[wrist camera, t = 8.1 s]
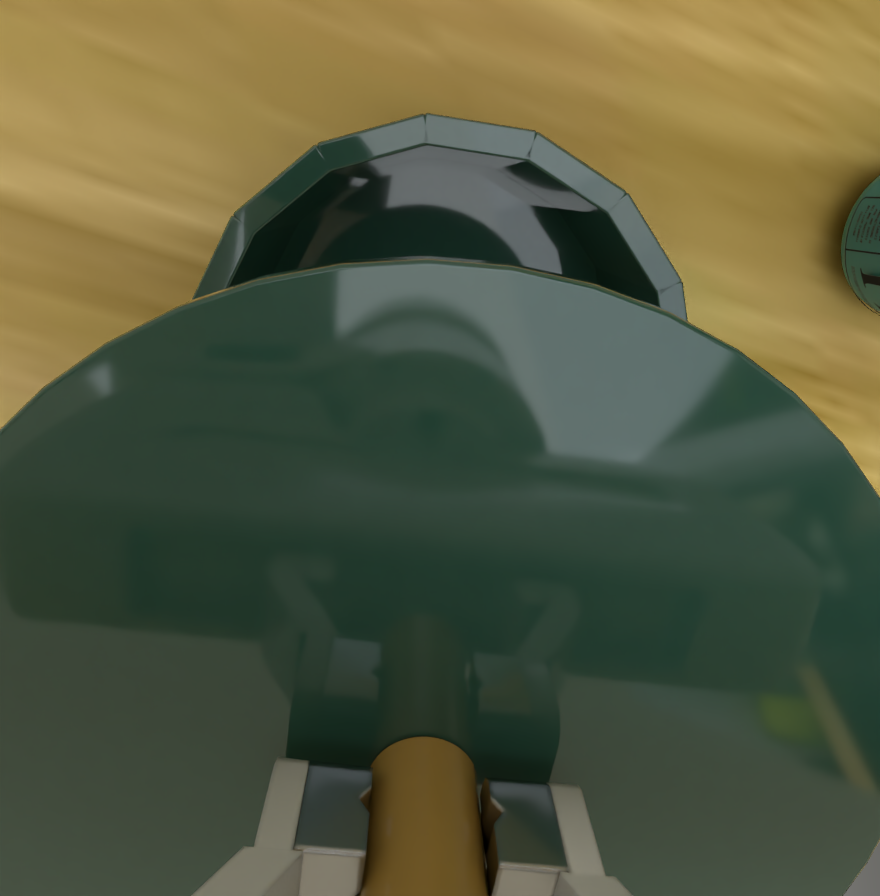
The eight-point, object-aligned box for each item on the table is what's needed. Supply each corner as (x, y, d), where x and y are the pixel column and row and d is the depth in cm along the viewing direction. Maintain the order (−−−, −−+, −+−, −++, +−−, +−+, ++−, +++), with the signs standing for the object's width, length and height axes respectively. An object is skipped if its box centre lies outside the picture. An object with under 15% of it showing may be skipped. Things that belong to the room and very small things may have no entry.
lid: (-23, 1002, 15) (-207, 1343, 10) (-112, 164, 9) (-585, 141, 5) (730, 1050, 16) (846, 1370, 12) (1041, 339, 11) (1481, 444, 6)
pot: (239, 486, 32) (179, 585, 24) (259, 109, 27) (191, 74, 19) (576, 526, 33) (626, 633, 25) (658, 172, 28) (754, 165, 20)
